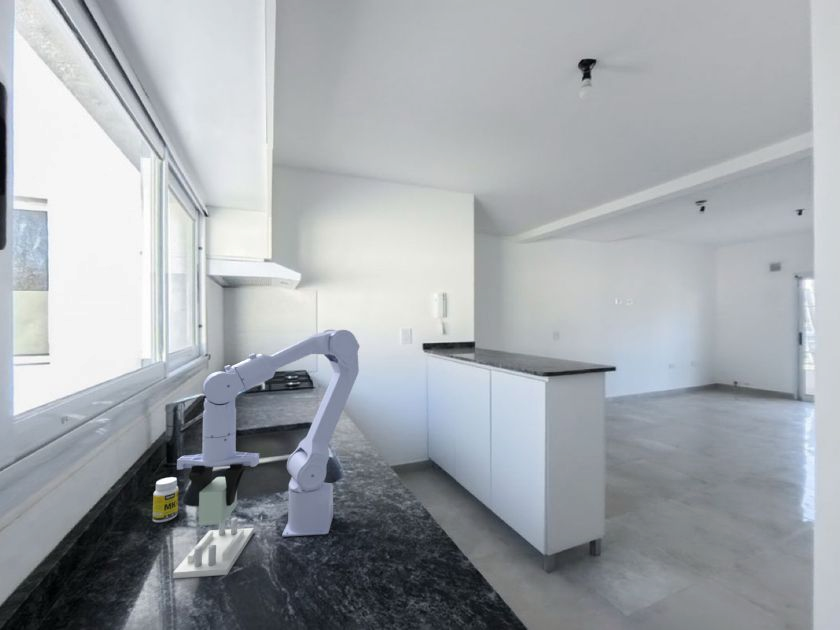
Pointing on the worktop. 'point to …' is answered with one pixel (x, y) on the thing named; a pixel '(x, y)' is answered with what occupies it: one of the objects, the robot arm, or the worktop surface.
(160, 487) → the supplement bottle
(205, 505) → the block
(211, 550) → the tray
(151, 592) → the worktop surface
